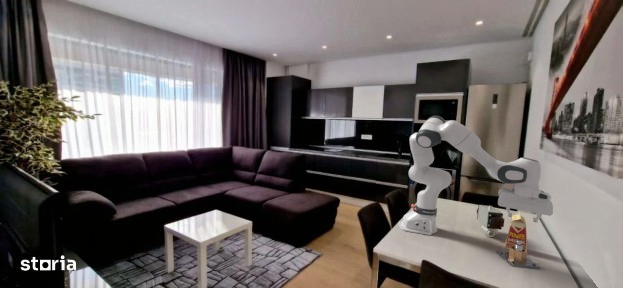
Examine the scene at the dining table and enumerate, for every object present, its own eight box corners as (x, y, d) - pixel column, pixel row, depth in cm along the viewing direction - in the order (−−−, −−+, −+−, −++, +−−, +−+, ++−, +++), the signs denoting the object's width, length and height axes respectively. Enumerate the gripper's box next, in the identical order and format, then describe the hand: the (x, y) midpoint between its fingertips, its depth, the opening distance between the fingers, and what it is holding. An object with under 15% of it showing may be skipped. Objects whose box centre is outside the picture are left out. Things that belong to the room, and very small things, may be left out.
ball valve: (504, 242, 141) (508, 212, 139) (488, 240, 143) (491, 210, 141) (489, 229, 159) (492, 202, 157) (474, 227, 160) (477, 200, 159)
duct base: (511, 265, 117) (513, 245, 116) (496, 252, 129) (498, 234, 128) (539, 269, 116) (542, 248, 115) (522, 255, 128) (524, 236, 127)
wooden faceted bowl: (504, 256, 124) (505, 246, 124) (513, 253, 127) (514, 244, 126) (520, 263, 118) (522, 253, 117) (529, 261, 120) (531, 251, 120)
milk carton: (504, 243, 141) (508, 208, 139) (526, 248, 135) (530, 213, 133) (504, 249, 134) (508, 213, 132) (526, 255, 128) (531, 217, 126)
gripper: (498, 188, 124) (495, 215, 125) (555, 197, 111) (551, 227, 113) (498, 186, 129) (495, 212, 130) (553, 194, 116) (549, 223, 118)
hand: (522, 219), depth 121 cm, fingers open, 8 cm apart
